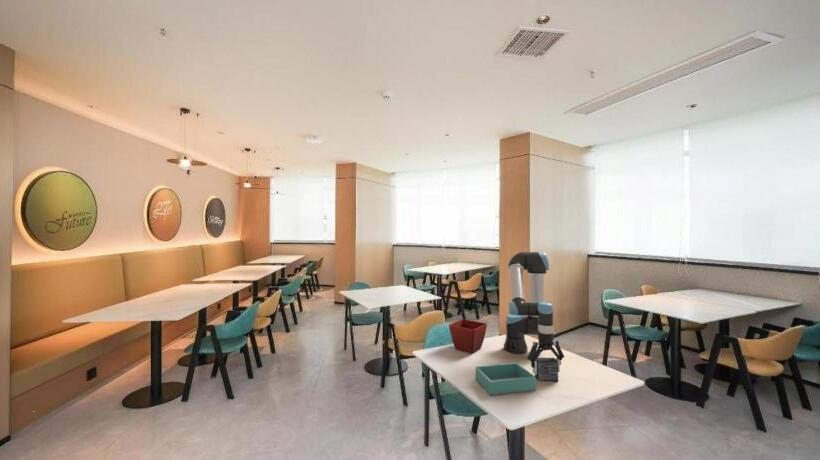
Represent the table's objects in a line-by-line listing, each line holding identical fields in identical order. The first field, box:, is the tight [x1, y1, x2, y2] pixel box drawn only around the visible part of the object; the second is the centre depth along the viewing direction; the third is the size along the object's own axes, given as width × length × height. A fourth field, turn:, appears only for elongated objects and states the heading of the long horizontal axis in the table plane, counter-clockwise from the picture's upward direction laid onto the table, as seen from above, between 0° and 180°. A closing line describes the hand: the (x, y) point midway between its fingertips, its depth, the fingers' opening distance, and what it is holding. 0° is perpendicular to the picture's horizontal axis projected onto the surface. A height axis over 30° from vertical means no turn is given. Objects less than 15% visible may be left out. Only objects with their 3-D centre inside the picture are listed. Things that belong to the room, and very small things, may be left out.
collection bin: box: [475, 362, 537, 397], centre depth 169 cm, size 24×18×7 cm
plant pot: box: [448, 318, 488, 354], centre depth 221 cm, size 19×19×17 cm
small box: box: [534, 357, 559, 383], centre depth 176 cm, size 11×6×10 cm, turn 84°
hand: (546, 372), depth 176 cm, fingers open, 13 cm apart
